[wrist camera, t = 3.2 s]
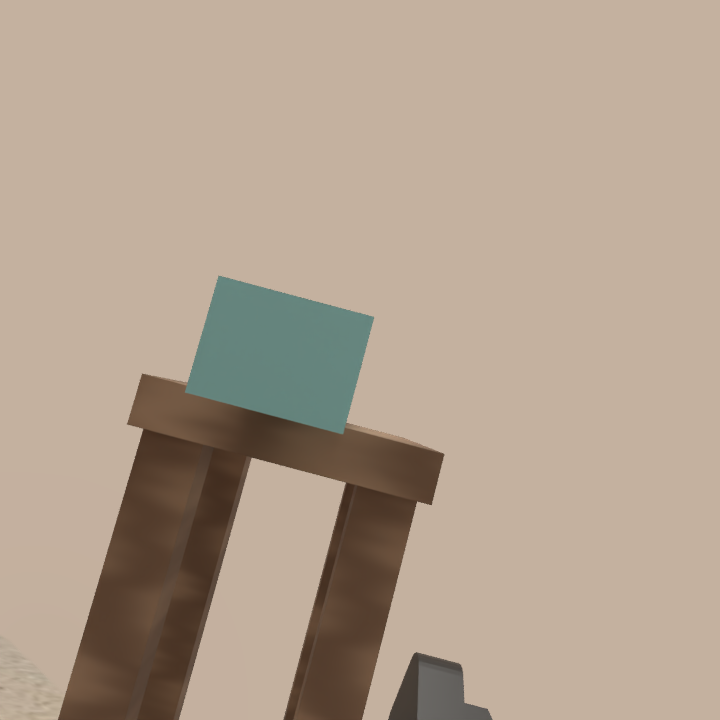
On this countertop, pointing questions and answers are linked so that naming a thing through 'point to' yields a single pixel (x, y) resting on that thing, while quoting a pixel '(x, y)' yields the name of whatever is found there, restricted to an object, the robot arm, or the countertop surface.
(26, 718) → the countertop surface
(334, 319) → the teal block
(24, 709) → the countertop surface
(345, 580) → the walnut stand
